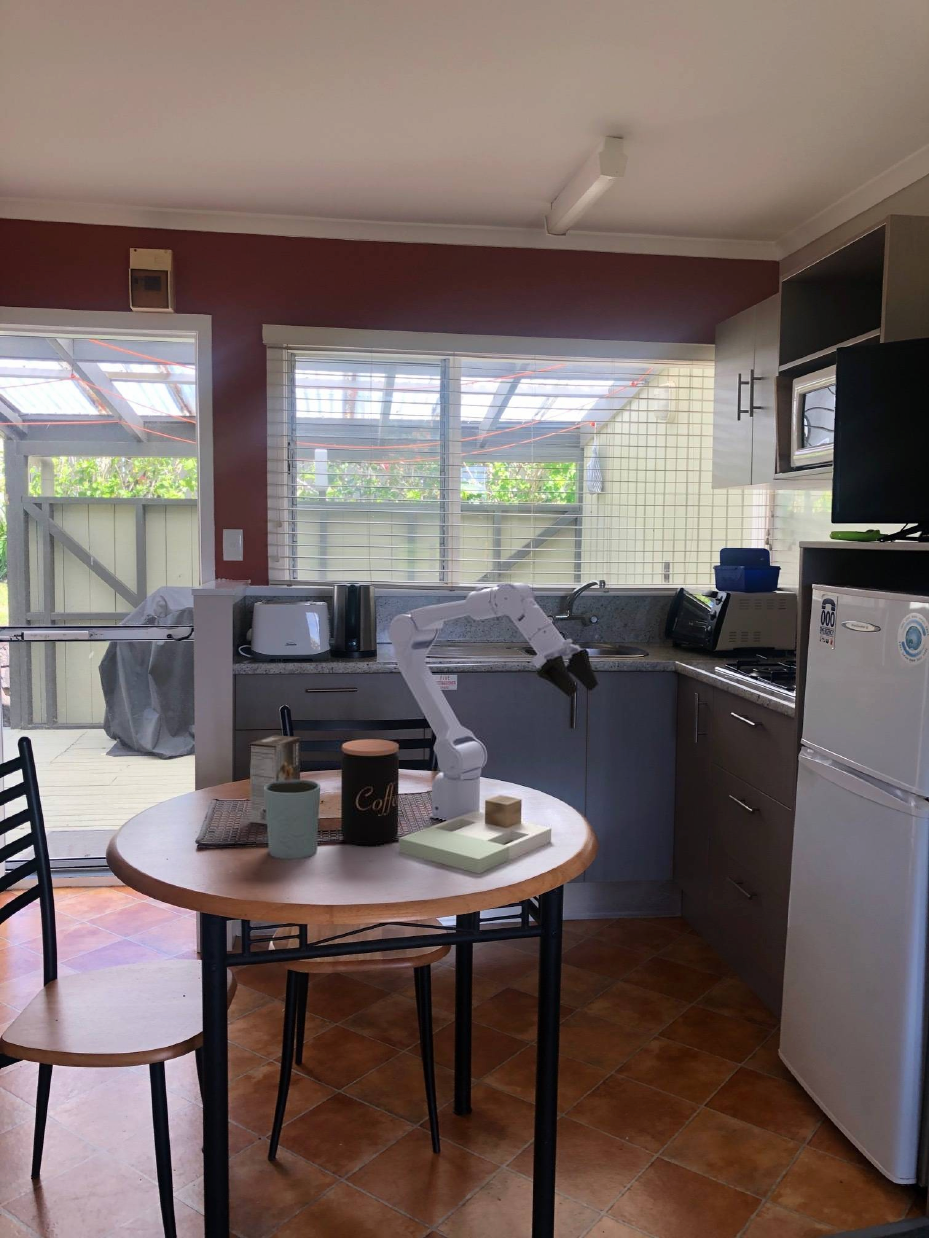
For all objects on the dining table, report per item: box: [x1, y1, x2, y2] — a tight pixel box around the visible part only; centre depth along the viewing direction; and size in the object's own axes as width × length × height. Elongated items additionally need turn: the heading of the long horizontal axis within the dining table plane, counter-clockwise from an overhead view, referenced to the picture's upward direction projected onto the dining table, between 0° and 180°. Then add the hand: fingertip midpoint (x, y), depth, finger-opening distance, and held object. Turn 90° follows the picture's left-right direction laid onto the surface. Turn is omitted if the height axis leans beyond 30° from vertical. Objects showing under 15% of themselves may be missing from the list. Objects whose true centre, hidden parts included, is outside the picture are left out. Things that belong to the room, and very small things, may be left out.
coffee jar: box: [340, 738, 400, 848], centre depth 176 cm, size 11×11×18 cm
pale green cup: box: [263, 779, 321, 860], centre depth 168 cm, size 10×10×12 cm
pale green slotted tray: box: [398, 811, 552, 875], centre depth 173 cm, size 18×23×2 cm
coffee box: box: [249, 734, 301, 825], centre depth 188 cm, size 9×6×16 cm
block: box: [484, 794, 523, 828], centre depth 179 cm, size 5×5×4 cm
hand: (584, 690), depth 173 cm, fingers open, 7 cm apart
